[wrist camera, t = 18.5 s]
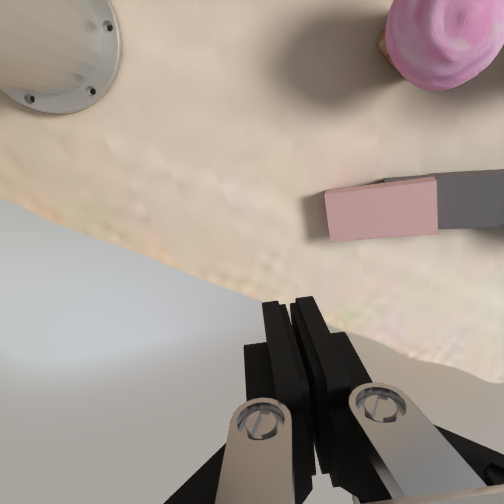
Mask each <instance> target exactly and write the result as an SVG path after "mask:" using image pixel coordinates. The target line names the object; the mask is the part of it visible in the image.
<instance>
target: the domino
mask: <svg viewBox="0 0 504 504" xmlns="http://www.w3.org/2000/svg"><path fill="white" fill-rule="evenodd" d="M426 177H435V179H436V181H437V216H438V229H457V228H499V224H500V214H501V204H502V194H503V184H504V173H503V172H501V171H500V170H492V171H478V172H464V173H450V174H436V175H422V176H408V177H394V178H385V180H384V183H386V182H394V181H402V180H410V179H418V178H426Z"/></svg>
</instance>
